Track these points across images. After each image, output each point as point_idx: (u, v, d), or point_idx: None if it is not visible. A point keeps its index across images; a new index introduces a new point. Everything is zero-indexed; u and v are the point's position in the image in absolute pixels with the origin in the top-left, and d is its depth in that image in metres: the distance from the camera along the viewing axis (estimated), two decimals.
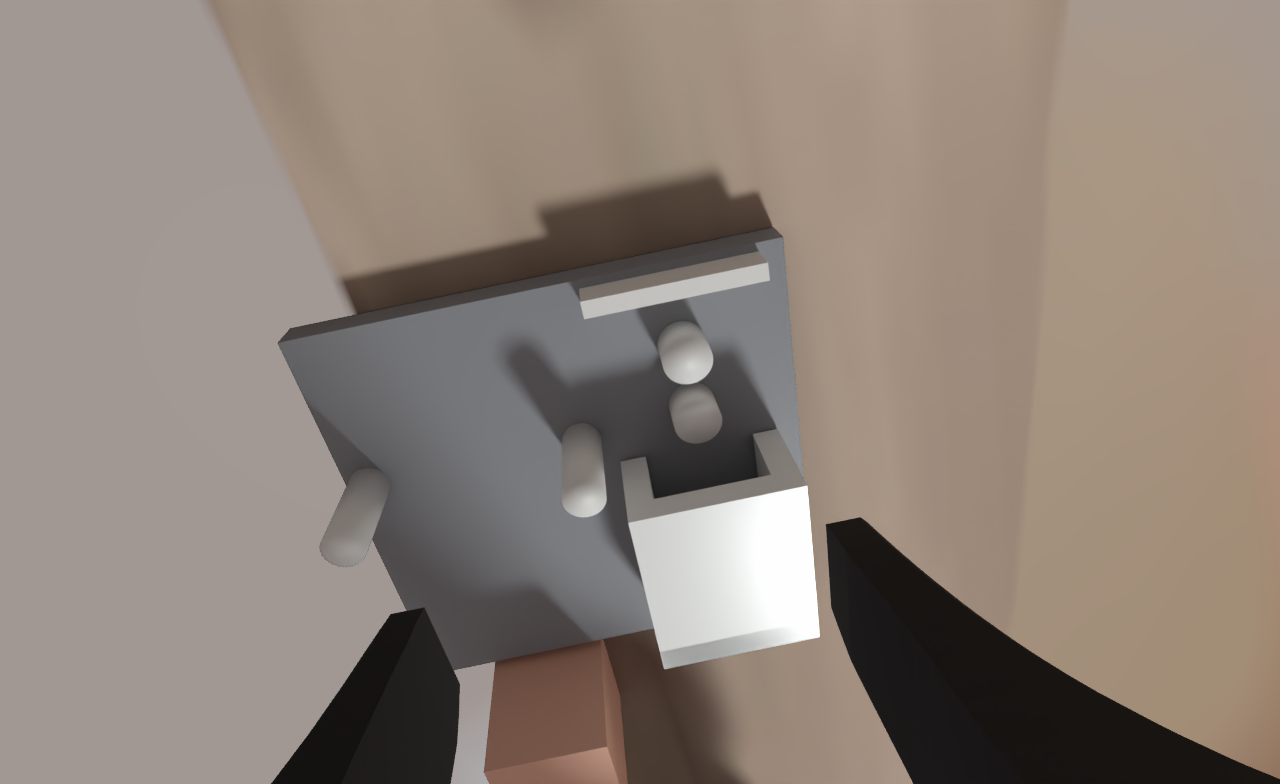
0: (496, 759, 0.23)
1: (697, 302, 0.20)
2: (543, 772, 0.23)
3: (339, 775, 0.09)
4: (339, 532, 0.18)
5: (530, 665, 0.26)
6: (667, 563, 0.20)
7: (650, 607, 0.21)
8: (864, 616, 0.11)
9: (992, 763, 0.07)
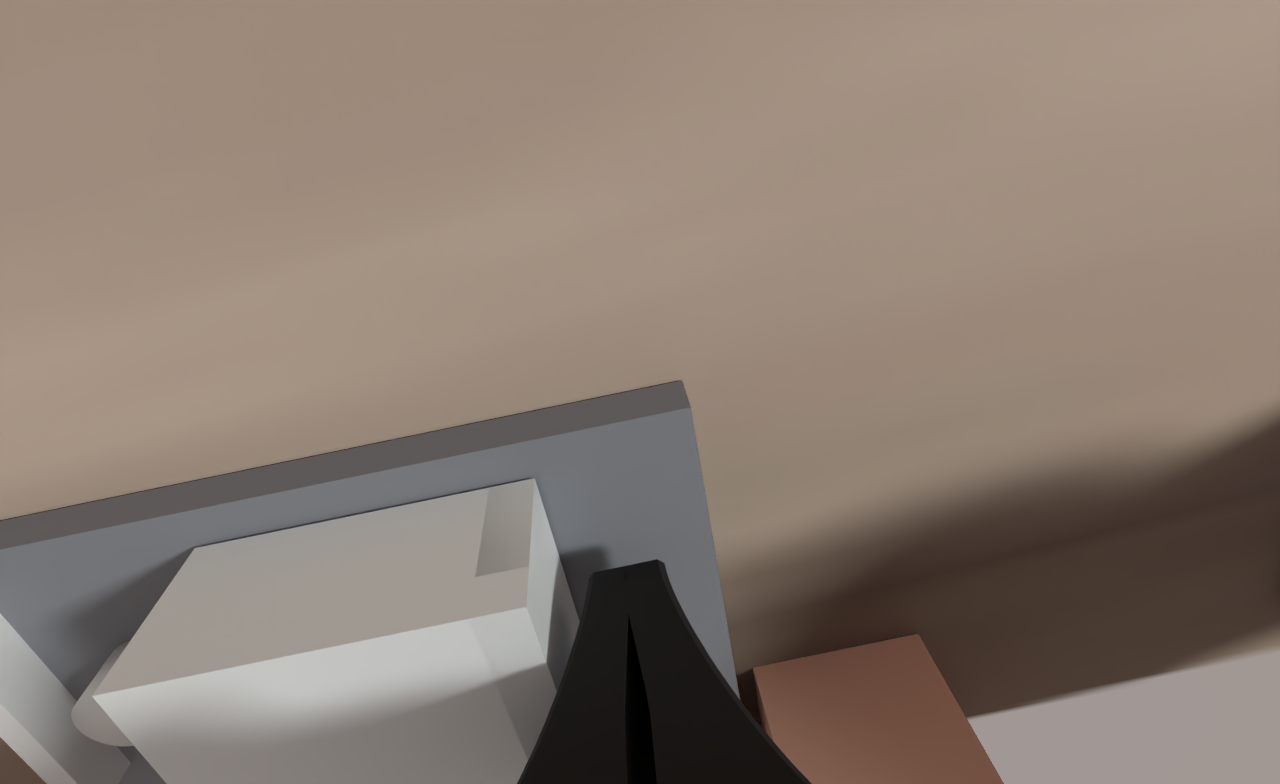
0: None
1: (73, 654, 0.13)
2: None
3: (617, 718, 0.09)
4: None
5: None
6: None
7: None
8: None
9: None
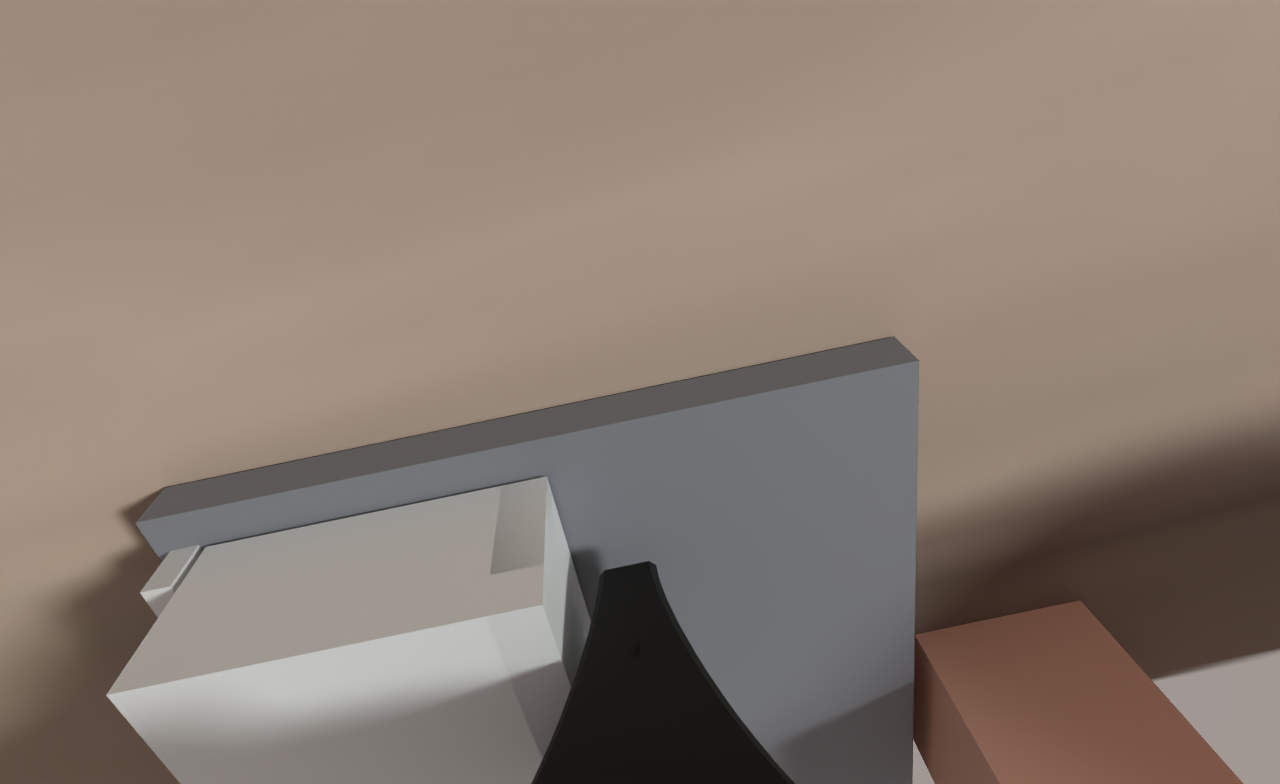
0: None
1: None
2: None
3: (632, 714, 0.09)
4: None
5: (934, 746, 0.17)
6: None
7: None
8: None
9: None
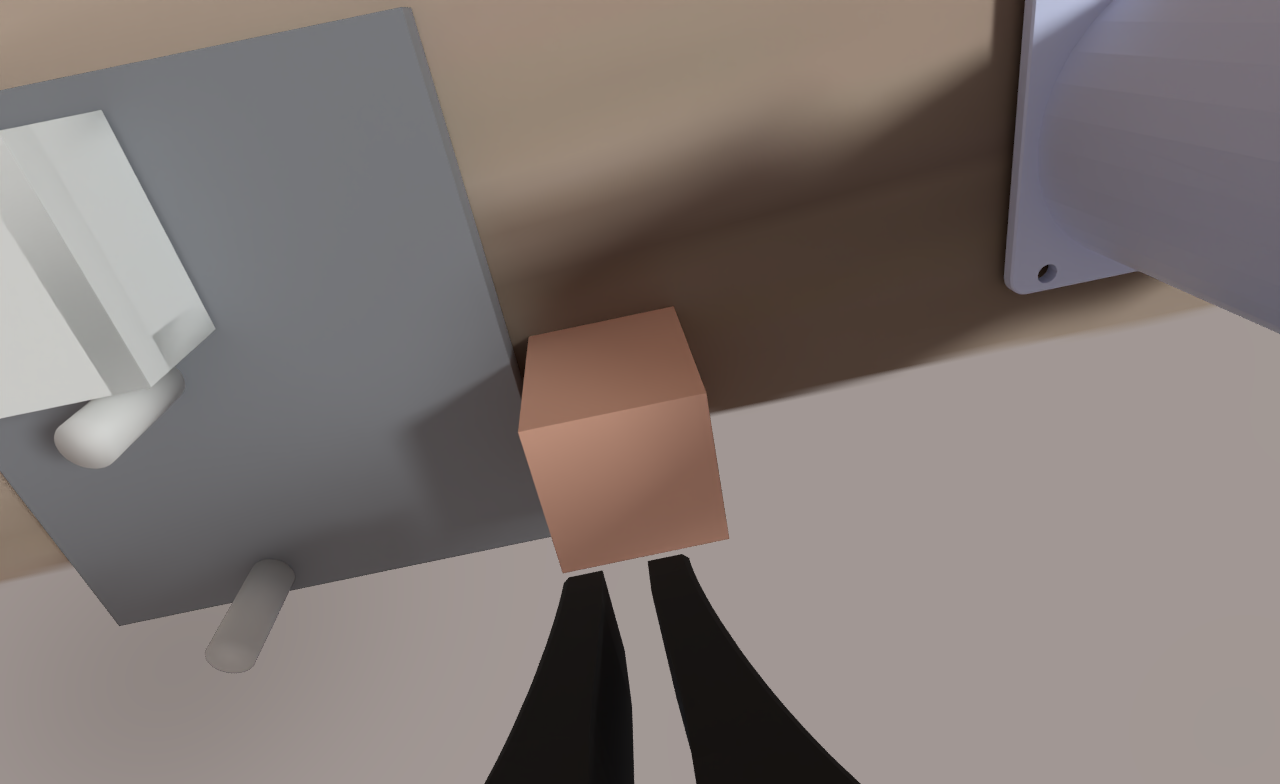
0: None
1: None
2: (571, 509, 0.16)
3: (583, 725, 0.09)
4: (207, 657, 0.18)
5: None
6: None
7: (17, 412, 0.14)
8: (667, 656, 0.11)
9: None
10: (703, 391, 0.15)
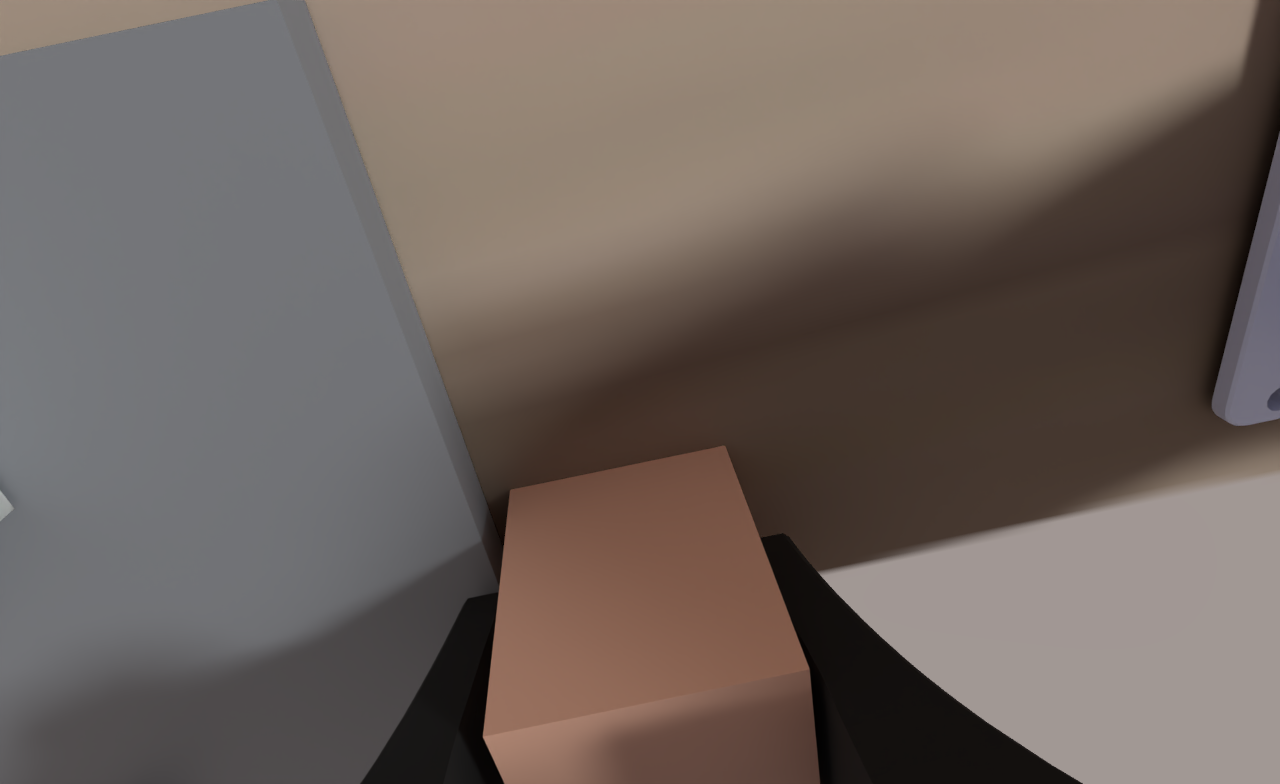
0: None
1: None
2: None
3: (445, 753, 0.09)
4: None
5: None
6: None
7: None
8: None
9: None
10: (803, 664, 0.08)
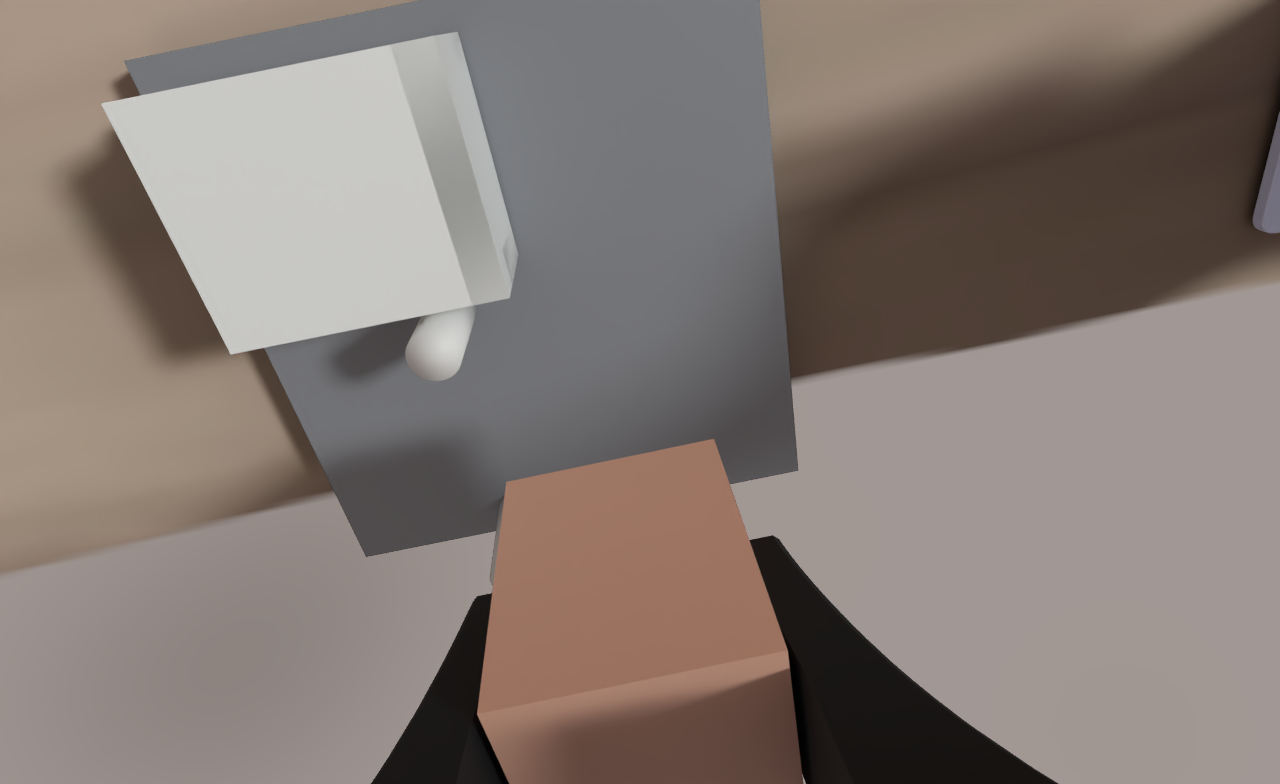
0: None
1: None
2: None
3: (457, 750, 0.09)
4: (491, 577, 0.18)
5: None
6: (294, 302, 0.14)
7: (381, 321, 0.15)
8: None
9: None
10: (782, 645, 0.09)
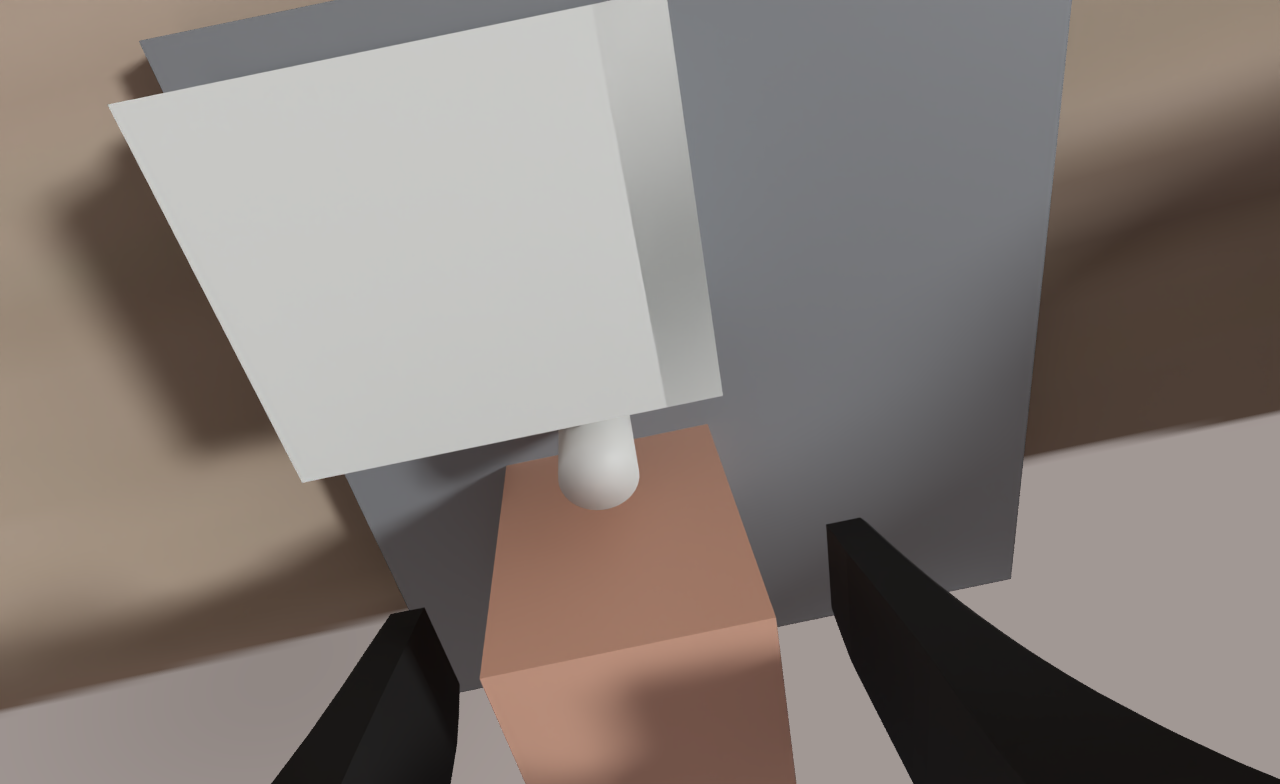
0: None
1: None
2: (564, 770, 0.10)
3: (339, 775, 0.09)
4: None
5: None
6: (403, 408, 0.09)
7: (530, 432, 0.10)
8: (864, 616, 0.11)
9: (992, 763, 0.07)
10: (770, 613, 0.09)
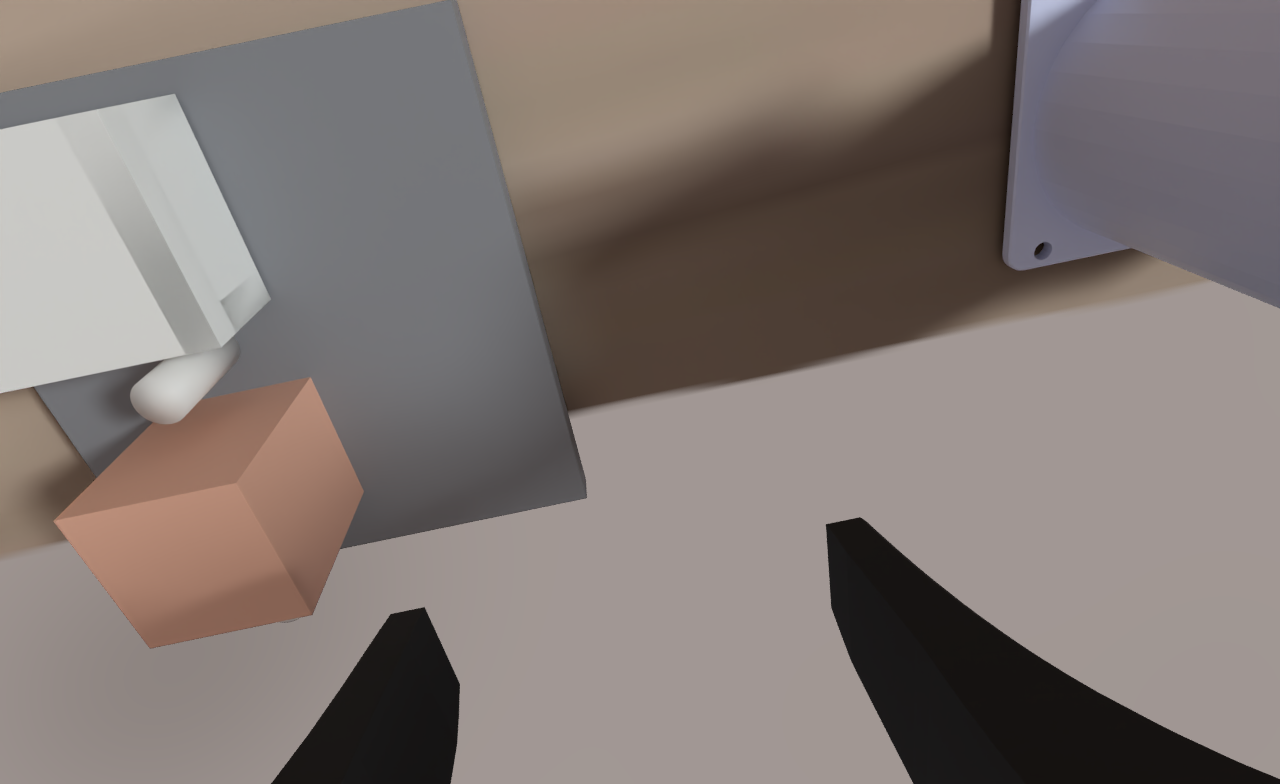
0: None
1: None
2: (135, 590, 0.16)
3: (339, 775, 0.09)
4: None
5: None
6: (9, 354, 0.15)
7: (99, 370, 0.15)
8: (864, 616, 0.11)
9: (994, 764, 0.07)
10: (236, 480, 0.15)
